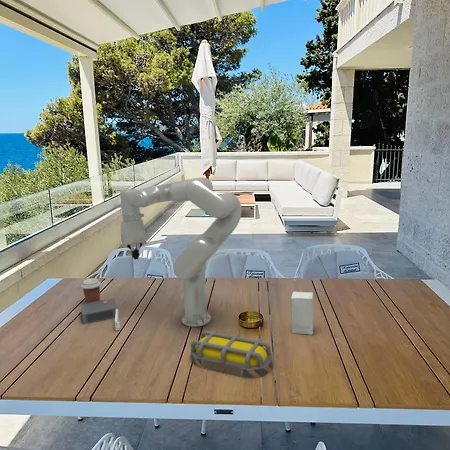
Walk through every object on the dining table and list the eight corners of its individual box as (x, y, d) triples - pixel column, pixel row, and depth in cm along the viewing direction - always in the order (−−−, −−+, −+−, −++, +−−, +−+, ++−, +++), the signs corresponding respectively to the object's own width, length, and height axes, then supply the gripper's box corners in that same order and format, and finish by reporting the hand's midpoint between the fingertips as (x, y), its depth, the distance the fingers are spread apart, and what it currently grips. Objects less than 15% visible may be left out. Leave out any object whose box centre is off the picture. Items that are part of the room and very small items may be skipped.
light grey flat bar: (120, 316, 179) (119, 308, 178) (120, 329, 167) (119, 321, 166) (116, 316, 179) (115, 308, 178) (115, 330, 166) (114, 321, 165)
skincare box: (313, 327, 162) (314, 292, 159) (312, 335, 156) (313, 298, 152) (293, 326, 164) (292, 290, 161) (291, 333, 158) (291, 297, 155)
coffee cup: (79, 307, 192) (76, 283, 189) (90, 299, 200) (87, 277, 198) (96, 308, 189) (93, 284, 187) (106, 300, 198) (104, 277, 195)
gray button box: (118, 317, 179) (117, 306, 178) (83, 324, 173) (82, 313, 172) (114, 305, 192) (113, 295, 191) (81, 312, 186) (80, 302, 185)
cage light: (263, 360, 126) (182, 343, 139) (264, 382, 128) (183, 363, 141) (277, 338, 139) (201, 325, 152) (277, 359, 141) (203, 344, 154)
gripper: (146, 214, 177) (150, 253, 181) (112, 218, 171) (117, 259, 175) (150, 216, 171) (154, 257, 175) (115, 221, 165) (120, 263, 169)
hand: (135, 258), depth 175 cm, fingers closed
